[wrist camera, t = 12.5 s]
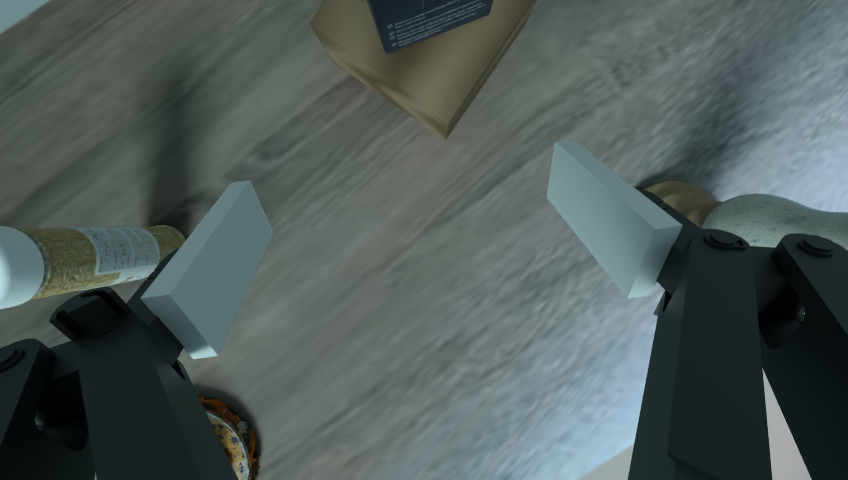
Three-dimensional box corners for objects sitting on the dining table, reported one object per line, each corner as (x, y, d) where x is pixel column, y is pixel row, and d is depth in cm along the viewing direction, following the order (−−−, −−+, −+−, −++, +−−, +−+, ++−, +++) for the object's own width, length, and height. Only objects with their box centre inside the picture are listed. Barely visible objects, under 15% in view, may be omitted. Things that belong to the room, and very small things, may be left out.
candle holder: (595, 243, 30) (953, 294, 9) (655, 161, 29) (1171, 28, 9) (674, 300, 30) (1193, 468, 10) (735, 219, 29) (1420, 217, 9)
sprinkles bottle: (145, 275, 30) (-79, 318, 17) (139, 225, 30) (-93, 230, 17) (194, 272, 30) (9, 313, 17) (189, 222, 30) (-5, 223, 17)
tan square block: (334, 63, 30) (309, 23, 24) (410, -55, 29) (405, -127, 23) (445, 141, 30) (449, 121, 24) (524, 26, 29) (548, -25, 23)
